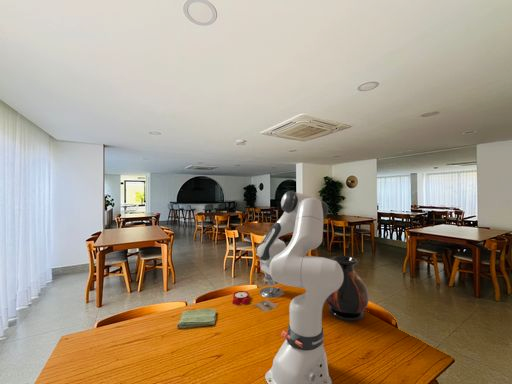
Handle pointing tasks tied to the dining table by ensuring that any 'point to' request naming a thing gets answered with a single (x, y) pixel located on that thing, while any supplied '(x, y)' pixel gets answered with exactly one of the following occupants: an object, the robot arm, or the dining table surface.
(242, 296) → the alarm clock
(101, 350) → the dining table surface
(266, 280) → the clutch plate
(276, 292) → the hub
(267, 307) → the stand
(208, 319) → the washcloth
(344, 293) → the amphora vase
